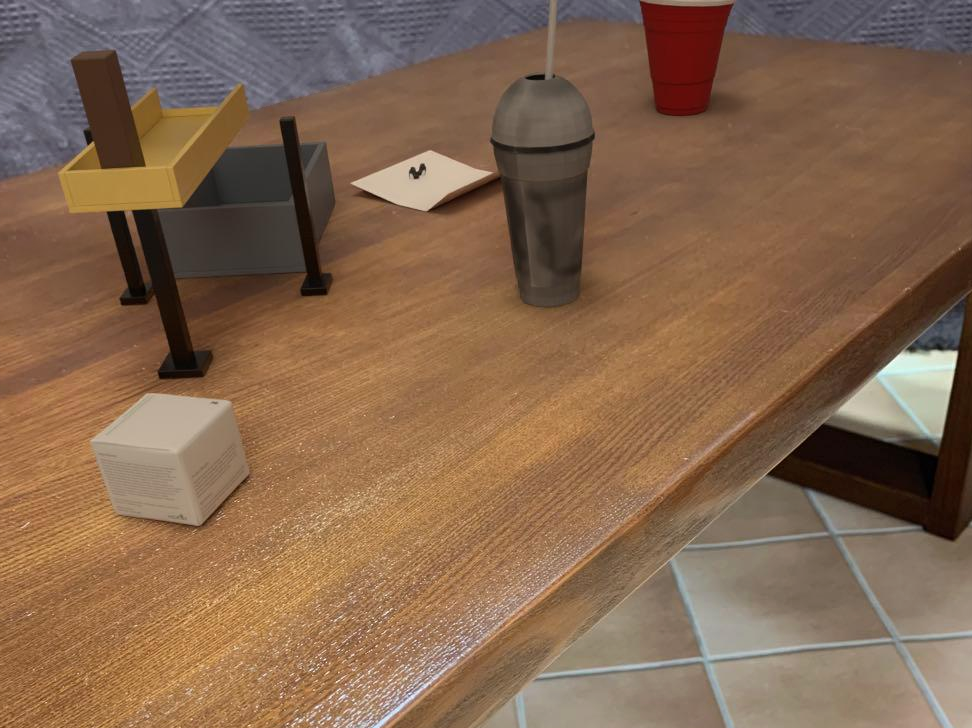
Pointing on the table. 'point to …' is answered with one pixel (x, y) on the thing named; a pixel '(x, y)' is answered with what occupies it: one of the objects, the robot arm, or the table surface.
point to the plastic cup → (684, 50)
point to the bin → (247, 214)
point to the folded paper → (425, 181)
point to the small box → (171, 458)
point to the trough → (142, 142)
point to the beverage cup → (544, 179)
